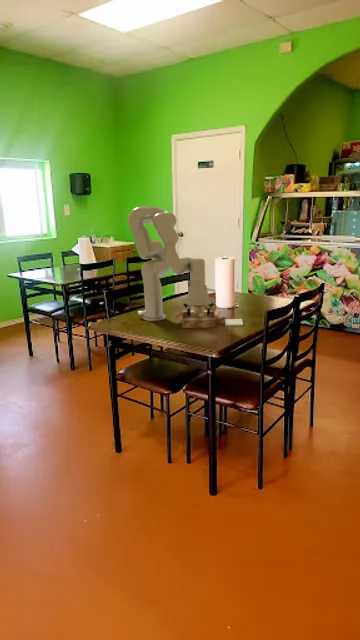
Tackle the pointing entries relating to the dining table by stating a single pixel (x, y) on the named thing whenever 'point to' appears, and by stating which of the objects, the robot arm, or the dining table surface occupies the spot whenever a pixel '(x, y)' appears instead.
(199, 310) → the block
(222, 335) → the dining table surface
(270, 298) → the dining table surface
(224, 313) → the dining table surface
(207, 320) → the brown wooden tray
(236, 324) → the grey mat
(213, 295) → the small box
